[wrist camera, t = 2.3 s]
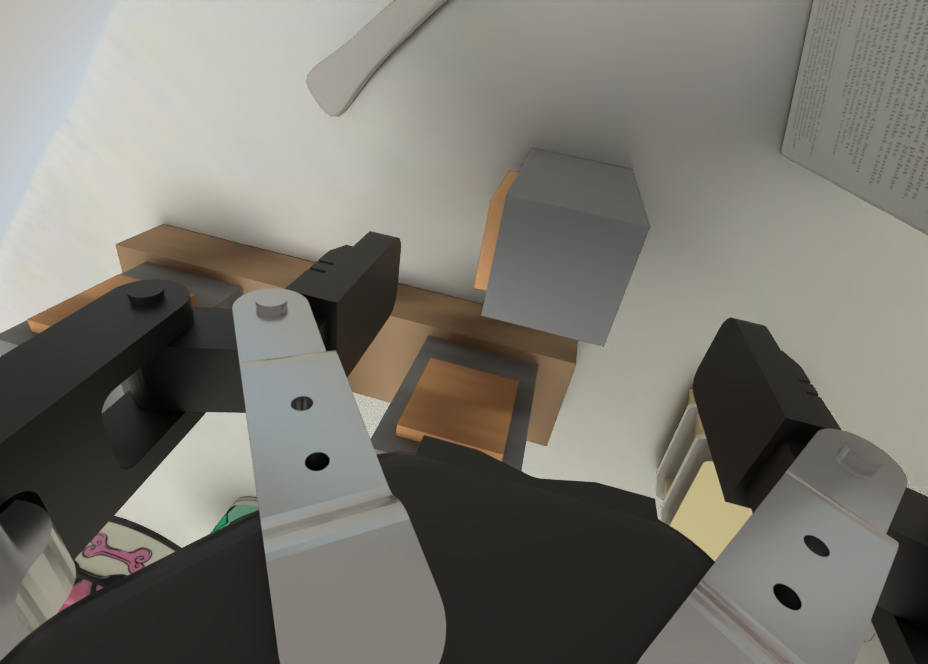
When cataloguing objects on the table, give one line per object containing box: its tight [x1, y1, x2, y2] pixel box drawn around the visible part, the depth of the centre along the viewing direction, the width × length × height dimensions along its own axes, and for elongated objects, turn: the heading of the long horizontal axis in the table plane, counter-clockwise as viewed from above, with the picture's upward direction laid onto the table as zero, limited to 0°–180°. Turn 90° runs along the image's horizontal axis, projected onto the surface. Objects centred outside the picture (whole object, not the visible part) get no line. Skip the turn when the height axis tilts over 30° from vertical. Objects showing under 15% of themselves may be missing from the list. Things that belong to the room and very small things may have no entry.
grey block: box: [474, 148, 650, 347], centre depth 17 cm, size 4×4×7 cm
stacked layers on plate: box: [656, 389, 752, 561], centre depth 22 cm, size 10×9×6 cm
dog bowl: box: [58, 516, 181, 613], centre depth 45 cm, size 18×19×7 cm
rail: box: [0, 224, 577, 471], centre depth 21 cm, size 22×5×10 cm, turn 81°
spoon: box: [307, 0, 447, 116], centre depth 17 cm, size 3×12×2 cm, turn 125°
